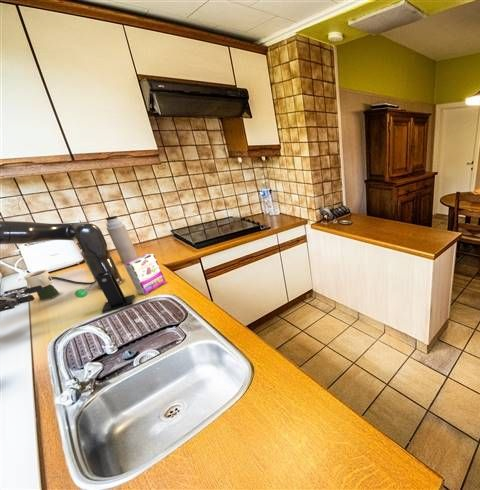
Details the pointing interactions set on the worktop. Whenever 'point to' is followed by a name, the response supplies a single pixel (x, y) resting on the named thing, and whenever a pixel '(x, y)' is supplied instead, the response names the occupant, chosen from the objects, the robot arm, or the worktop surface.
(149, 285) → the candy bar box
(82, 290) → the switch lever
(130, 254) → the thermos bottle
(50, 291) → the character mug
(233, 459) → the worktop surface
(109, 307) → the switch bracket
